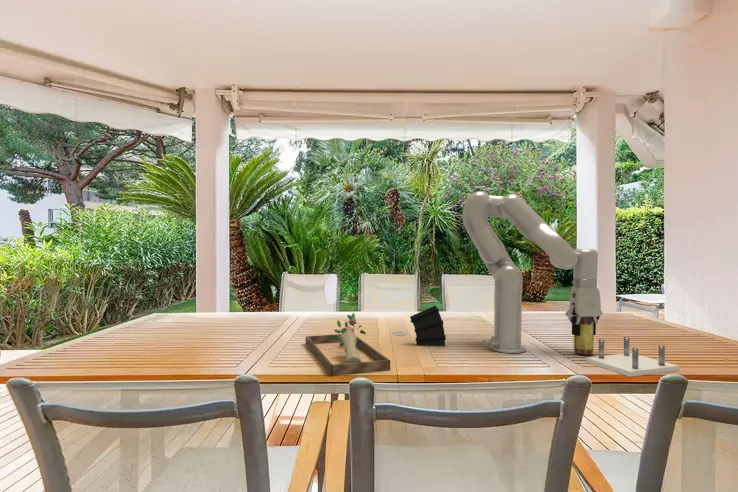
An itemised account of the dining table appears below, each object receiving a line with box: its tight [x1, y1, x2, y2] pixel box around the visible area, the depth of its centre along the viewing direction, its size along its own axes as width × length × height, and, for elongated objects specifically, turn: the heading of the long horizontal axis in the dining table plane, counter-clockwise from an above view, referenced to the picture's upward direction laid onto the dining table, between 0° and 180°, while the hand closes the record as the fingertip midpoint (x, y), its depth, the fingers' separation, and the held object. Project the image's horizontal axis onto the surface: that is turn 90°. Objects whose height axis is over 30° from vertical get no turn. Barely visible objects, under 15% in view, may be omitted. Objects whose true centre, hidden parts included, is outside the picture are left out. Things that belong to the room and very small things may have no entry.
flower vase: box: [332, 312, 367, 364], centre depth 143 cm, size 12×12×35 cm
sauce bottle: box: [573, 314, 595, 356], centre depth 148 cm, size 7×6×20 cm
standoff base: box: [585, 336, 679, 378], centre depth 134 cm, size 20×16×8 cm
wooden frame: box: [305, 333, 391, 377], centre depth 144 cm, size 19×41×3 cm, turn 19°
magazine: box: [409, 304, 447, 347], centre depth 160 cm, size 4×13×15 cm, turn 82°
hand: (583, 334), depth 148 cm, fingers closed on sauce bottle, 6 cm apart
